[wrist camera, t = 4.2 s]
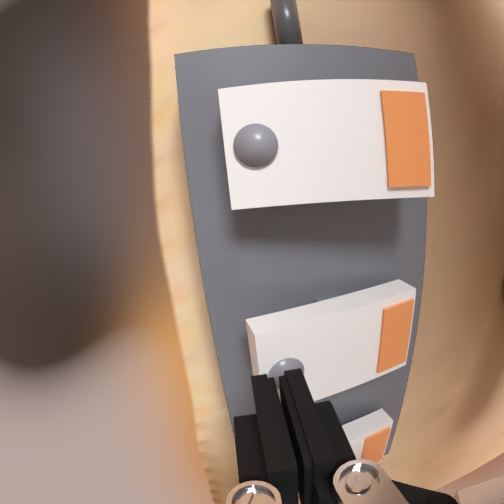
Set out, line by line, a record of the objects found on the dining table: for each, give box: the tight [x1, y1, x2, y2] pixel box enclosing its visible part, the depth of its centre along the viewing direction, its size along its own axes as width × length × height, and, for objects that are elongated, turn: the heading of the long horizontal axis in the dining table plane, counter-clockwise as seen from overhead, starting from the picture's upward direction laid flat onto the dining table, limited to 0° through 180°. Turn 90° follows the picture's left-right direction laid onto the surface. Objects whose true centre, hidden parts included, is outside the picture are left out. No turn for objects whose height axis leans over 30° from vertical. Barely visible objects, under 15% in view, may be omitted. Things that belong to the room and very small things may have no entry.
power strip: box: [174, 0, 427, 455], centre depth 15 cm, size 28×10×4 cm, turn 6°
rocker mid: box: [246, 279, 416, 402], centre depth 13 cm, size 4×7×1 cm, turn 96°
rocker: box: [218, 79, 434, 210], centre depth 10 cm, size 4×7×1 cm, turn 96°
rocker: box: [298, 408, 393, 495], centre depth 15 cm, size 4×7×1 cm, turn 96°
